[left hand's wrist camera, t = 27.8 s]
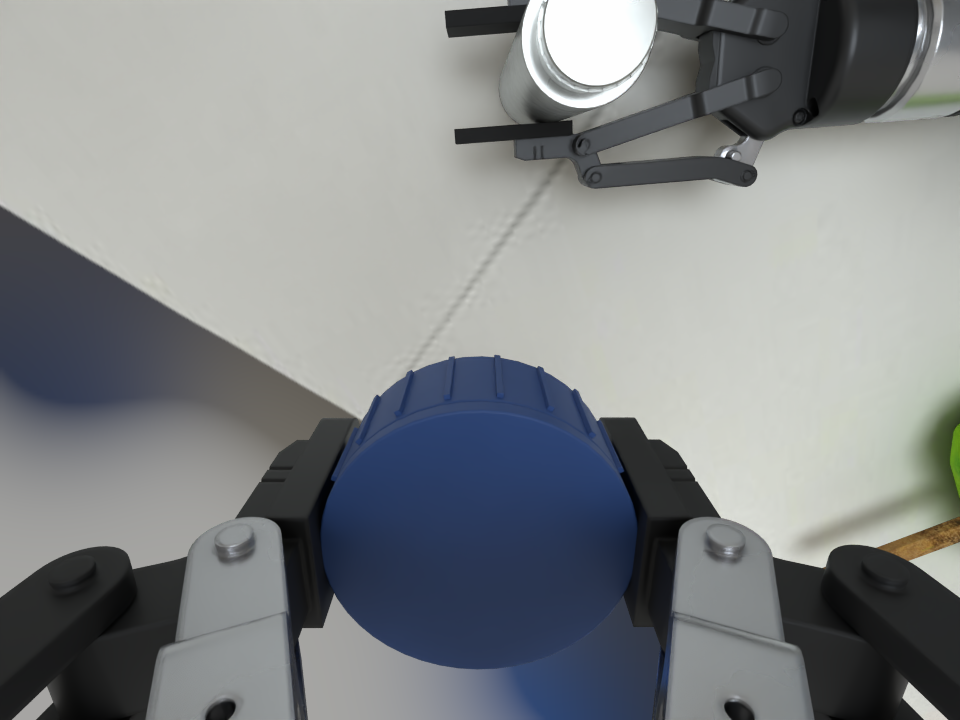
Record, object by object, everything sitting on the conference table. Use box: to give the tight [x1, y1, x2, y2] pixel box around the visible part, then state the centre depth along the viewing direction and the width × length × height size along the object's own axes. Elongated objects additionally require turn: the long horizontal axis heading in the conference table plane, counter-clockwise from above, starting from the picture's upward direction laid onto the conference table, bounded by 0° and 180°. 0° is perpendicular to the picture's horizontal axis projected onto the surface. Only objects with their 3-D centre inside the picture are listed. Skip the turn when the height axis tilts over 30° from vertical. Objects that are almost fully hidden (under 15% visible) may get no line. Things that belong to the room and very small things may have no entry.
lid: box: [320, 355, 638, 669], centre depth 10 cm, size 5×5×2 cm
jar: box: [499, 0, 658, 124], centre depth 27 cm, size 5×5×19 cm
